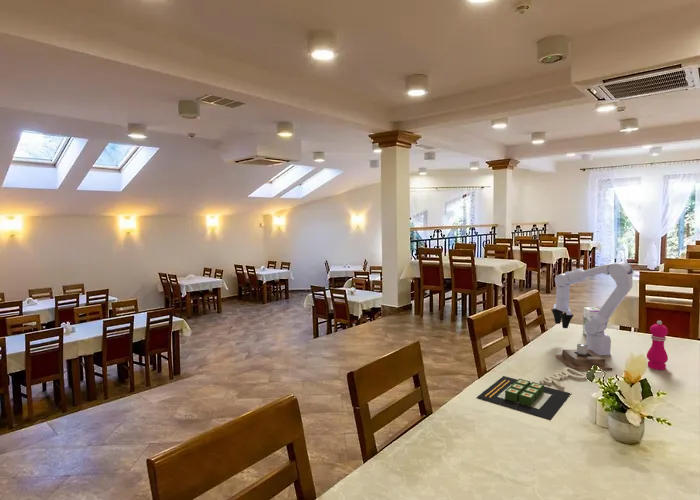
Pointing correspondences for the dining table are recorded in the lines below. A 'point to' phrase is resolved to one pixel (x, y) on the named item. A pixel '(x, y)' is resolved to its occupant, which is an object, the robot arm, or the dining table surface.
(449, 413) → the dining table surface
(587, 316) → the syrup box
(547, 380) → the decorative sign
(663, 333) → the pepper mill
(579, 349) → the peg
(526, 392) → the sushi
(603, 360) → the socket board
